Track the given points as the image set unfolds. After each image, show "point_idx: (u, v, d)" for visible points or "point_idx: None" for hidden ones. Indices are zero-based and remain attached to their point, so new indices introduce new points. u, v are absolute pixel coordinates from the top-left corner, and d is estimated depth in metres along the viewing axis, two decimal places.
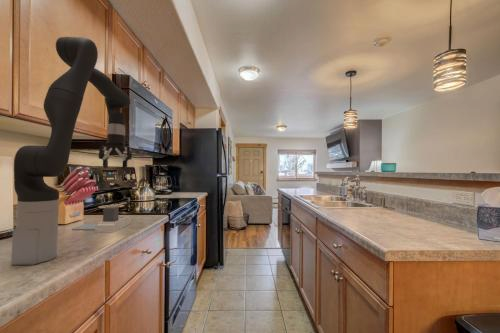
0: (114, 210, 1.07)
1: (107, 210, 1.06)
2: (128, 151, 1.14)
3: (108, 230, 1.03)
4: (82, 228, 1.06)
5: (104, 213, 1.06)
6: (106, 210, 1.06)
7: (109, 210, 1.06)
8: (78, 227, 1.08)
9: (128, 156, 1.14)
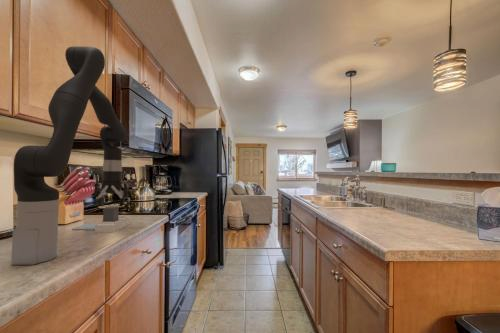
0: (114, 210, 1.07)
1: (107, 210, 1.06)
2: (125, 188, 1.08)
3: (108, 230, 1.03)
4: (82, 228, 1.06)
5: (104, 213, 1.06)
6: (106, 210, 1.06)
7: (109, 210, 1.06)
8: (78, 227, 1.08)
9: (125, 194, 1.08)
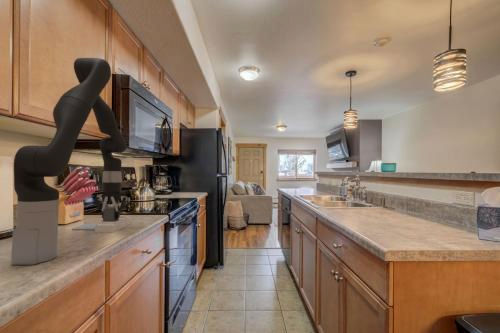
0: (114, 210, 1.07)
1: (107, 210, 1.06)
2: (123, 202, 1.07)
3: (108, 230, 1.03)
4: (82, 228, 1.06)
5: (104, 213, 1.06)
6: (106, 210, 1.06)
7: (109, 210, 1.06)
8: (78, 227, 1.08)
9: (120, 207, 1.07)
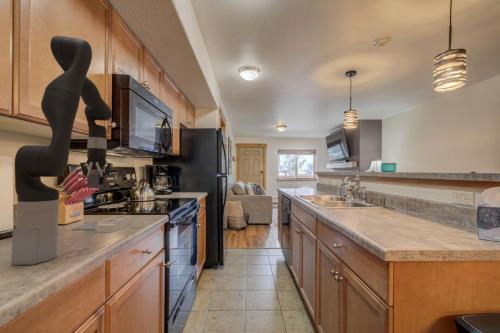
0: (99, 175, 1.10)
1: (92, 175, 1.09)
2: (107, 168, 1.11)
3: (108, 230, 1.03)
4: (82, 228, 1.06)
5: (89, 178, 1.09)
6: (91, 175, 1.09)
7: (94, 175, 1.09)
8: (78, 227, 1.08)
9: (105, 172, 1.11)
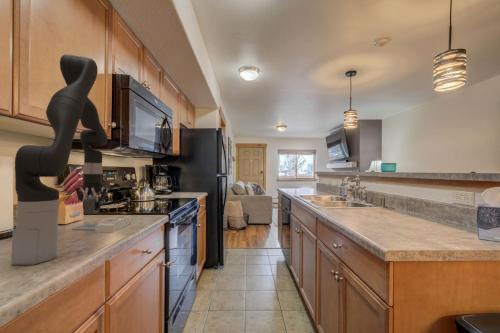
0: (95, 201, 1.10)
1: (88, 201, 1.09)
2: (103, 193, 1.10)
3: (108, 230, 1.03)
4: (82, 228, 1.06)
5: (85, 204, 1.09)
6: (87, 201, 1.09)
7: (90, 201, 1.09)
8: (78, 227, 1.08)
9: (101, 198, 1.10)
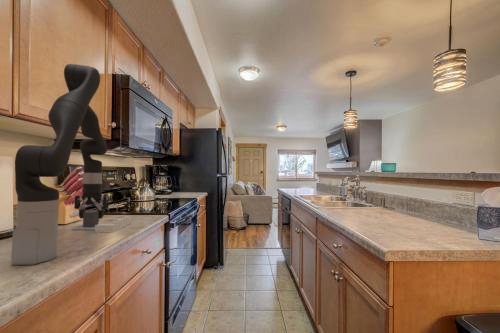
0: (94, 214, 1.10)
1: (87, 214, 1.09)
2: (104, 201, 1.10)
3: (108, 230, 1.03)
4: (82, 228, 1.06)
5: (84, 217, 1.09)
6: (86, 214, 1.09)
7: (89, 214, 1.09)
8: (78, 227, 1.08)
9: (104, 206, 1.10)
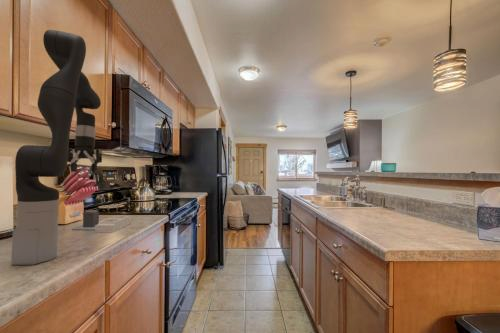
0: (94, 214, 1.10)
1: (87, 214, 1.09)
2: (97, 154, 1.09)
3: (108, 230, 1.03)
4: (82, 228, 1.06)
5: (84, 217, 1.09)
6: (86, 214, 1.09)
7: (89, 214, 1.09)
8: (78, 227, 1.08)
9: (97, 159, 1.09)
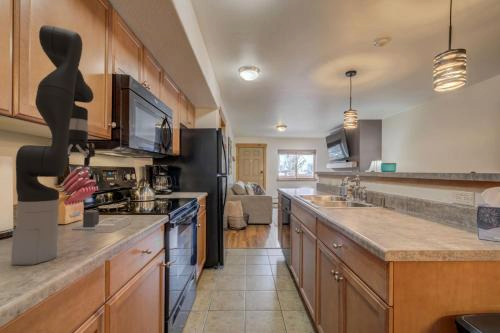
0: (94, 214, 1.10)
1: (87, 214, 1.09)
2: (90, 148, 1.08)
3: (108, 230, 1.03)
4: (82, 228, 1.06)
5: (84, 217, 1.09)
6: (86, 214, 1.09)
7: (89, 214, 1.09)
8: (78, 227, 1.08)
9: (90, 153, 1.08)
